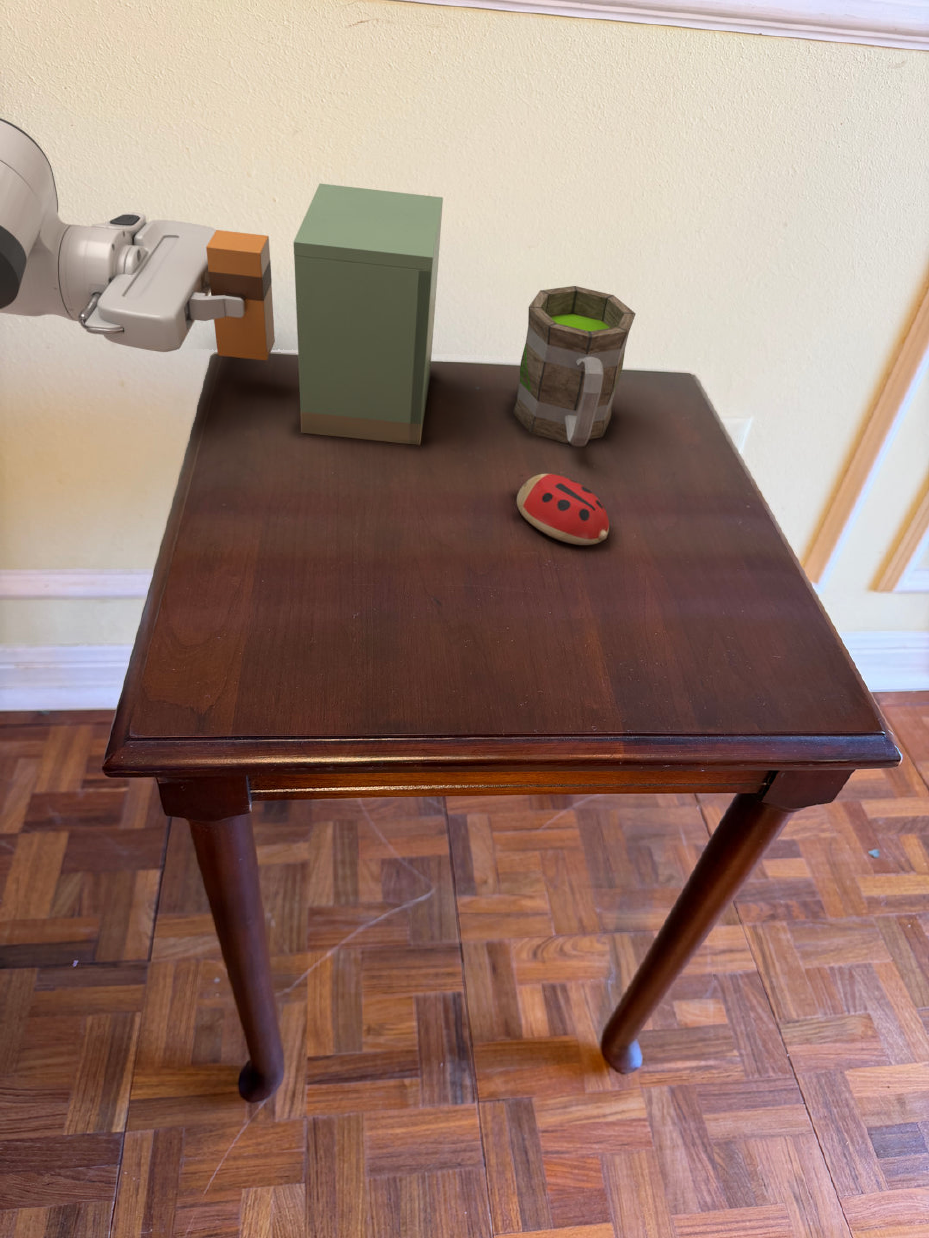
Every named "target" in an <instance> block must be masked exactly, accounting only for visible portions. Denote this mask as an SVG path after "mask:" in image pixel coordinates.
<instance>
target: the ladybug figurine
mask: <svg viewBox="0 0 929 1238" xmlns="http://www.w3.org/2000/svg"><path fill="white" fill-rule="evenodd" d="M516 505H517V506H516V507H517V508H518V511H519V512H520V515H521V516H522V517H523V518H524V519H525V521H527V522H528V523H529V524H530V525H531V526H533V527H534V528H536V529H537V530H539V531H540V532H542V533H543V534H544V535H546V536H548V537H551V538H553V539H555V540H558V541H560V542H563V543H567V544H571V545H575V546H591V545H592V546H593V545H596V544H599V543H601V542H603V541H604V540H606V539H607V537H608V534H609V531H610V521H609V517H608V513H607V510H606V509H605V506H604V505H603V503H602V502H601V501H600V500H599V498H598V497H597V496H596V495H595V494H594V493H593V492H592V491H591V490H590V489H588V488H587V487H585V486H583V485H582V484H580V483H578V482H577V481H575V480H573V479H570V478H567V477H565V476H561V475H558V474H553V473H540V474H537V475H534V476H532V477H531V478H529V479H528V480H527V481H526V482H525V483H524V484H523V485H522V487H520V489H519V490H518V493H517V496H516Z"/></svg>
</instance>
